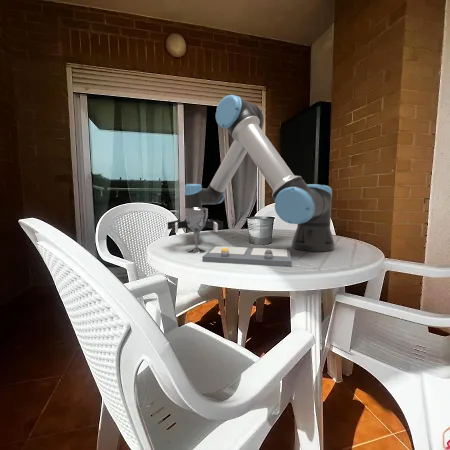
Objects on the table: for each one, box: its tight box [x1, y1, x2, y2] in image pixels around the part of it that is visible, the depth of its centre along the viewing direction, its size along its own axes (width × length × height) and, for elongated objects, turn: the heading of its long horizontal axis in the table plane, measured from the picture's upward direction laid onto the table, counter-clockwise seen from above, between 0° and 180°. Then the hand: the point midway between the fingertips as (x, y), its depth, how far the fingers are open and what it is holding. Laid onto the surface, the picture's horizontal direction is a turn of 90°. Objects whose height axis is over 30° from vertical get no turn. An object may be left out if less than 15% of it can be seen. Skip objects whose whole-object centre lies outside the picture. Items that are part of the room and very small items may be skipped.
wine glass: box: [184, 207, 209, 254], centre depth 94 cm, size 8×8×15 cm
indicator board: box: [201, 245, 293, 268], centre depth 85 cm, size 26×15×4 cm, turn 79°
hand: (196, 228), depth 91 cm, fingers open, 13 cm apart
